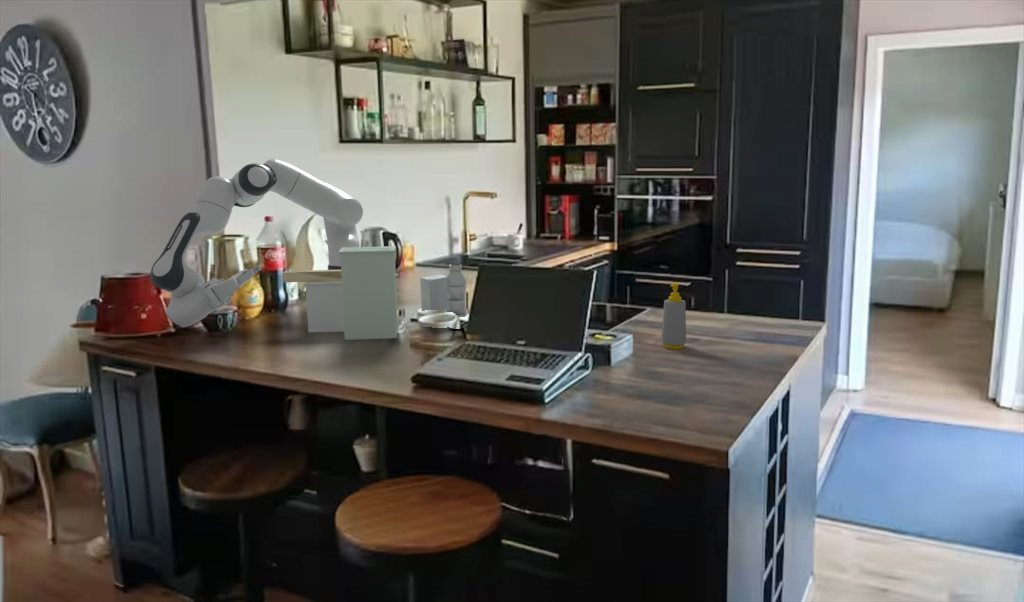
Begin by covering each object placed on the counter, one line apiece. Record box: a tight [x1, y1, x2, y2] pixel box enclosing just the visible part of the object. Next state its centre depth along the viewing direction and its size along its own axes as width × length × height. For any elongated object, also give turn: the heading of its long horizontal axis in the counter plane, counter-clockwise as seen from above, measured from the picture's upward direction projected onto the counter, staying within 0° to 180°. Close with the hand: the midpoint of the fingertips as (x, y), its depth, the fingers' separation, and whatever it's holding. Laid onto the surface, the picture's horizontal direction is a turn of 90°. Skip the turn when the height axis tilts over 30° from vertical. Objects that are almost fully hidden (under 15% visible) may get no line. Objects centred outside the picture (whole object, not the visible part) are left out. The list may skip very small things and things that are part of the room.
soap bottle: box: [660, 281, 687, 350], centre depth 220 cm, size 7×7×18 cm
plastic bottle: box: [445, 263, 468, 317], centre depth 244 cm, size 6×7×20 cm
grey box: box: [304, 281, 344, 334], centre depth 247 cm, size 10×12×15 cm
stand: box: [339, 245, 399, 341], centre depth 236 cm, size 10×16×26 cm, turn 96°
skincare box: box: [419, 273, 448, 312], centre depth 254 cm, size 8×6×15 cm
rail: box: [282, 269, 342, 283], centre depth 245 cm, size 3×24×3 cm, turn 96°
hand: (256, 269), depth 243 cm, fingers open, 8 cm apart
